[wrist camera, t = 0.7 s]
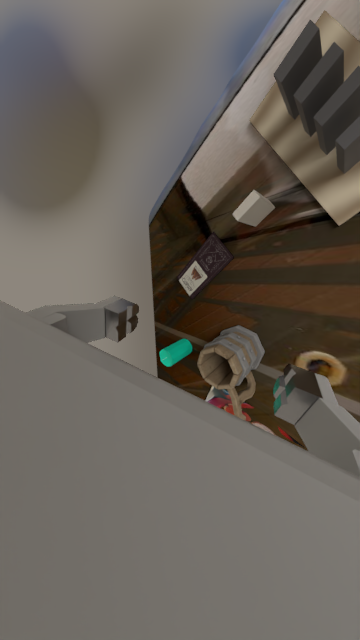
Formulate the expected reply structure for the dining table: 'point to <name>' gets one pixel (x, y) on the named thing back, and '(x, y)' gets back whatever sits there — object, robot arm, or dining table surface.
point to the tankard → (232, 363)
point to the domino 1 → (253, 209)
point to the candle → (175, 352)
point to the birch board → (314, 136)
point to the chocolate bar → (204, 265)
